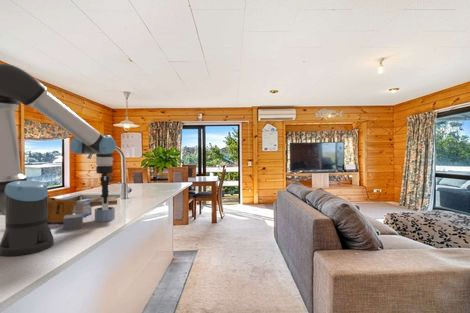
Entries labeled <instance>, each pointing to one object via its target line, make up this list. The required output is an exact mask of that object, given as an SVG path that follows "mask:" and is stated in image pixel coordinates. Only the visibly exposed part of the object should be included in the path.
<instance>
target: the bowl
mask: <svg viewBox="0 0 470 313" xmlns="http://www.w3.org/2000/svg"><path fill="white" fill-rule="evenodd" d="M115 211H116V209H115V207H113V206H108V210H102V206H101V207H97V208H95V209H94V222H110V221H113V220H115V219H116V218H115V217H116V216H115Z"/></svg>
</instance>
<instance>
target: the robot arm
mask: <svg viewBox="0 0 470 313" xmlns="http://www.w3.org/2000/svg"><path fill="white" fill-rule="evenodd" d="M20 103H21V104H22V105H24V106H26V107H31V108H33V109H35V110H36V111H38V112H39V113H40V114H41V115H43V116H45V117H47V119H49V120H51V121H52V122H53V123H55V124H56V125H57V126H59V127H61V128H62V129H63V130H65V131H66V132H67V133H69V134H70V135H71V136H73V137H74V138H72V139H71V141H70V142H69V146H70V148H69V149H70V151H71V152H72V153H73V154H75V155H76V154H77V155H95V161H96V162H95V164H96V169H95V170H96V174H99V175H101V176H99V177H100V178H99V179H100V185H101V195H100V198H102V206H101V207H102V210H108V207H109V205H108V198H109V185H110V182H109V181H110V176H109V175H108V174H113V173H114V171H113V170H114V169H113V168H114V167H113V163H114V162H113V161H115V159H114V158H113V157H114V156H113V153H114V152H115V150H116V148H117V142H116V141H115V139H114V138H113V137H112V135H109V134H108V135H107V134H105V135H104V134H102V133H101V132H99V131H98V130H97V129H96V128H94V127H93V126H91V125H90V124H89V123H88V122H87V121H86V120H84V119H83V118H82V117H80V116H79V115H78V114H76V112H74V111H73V110H71V109H70V108H69V107H68V106H66V105H65V104H64V103H63V102H61V101H60V100H59V99H57V98H56V97H55V96H53V95H52V94H51V93H50V92H48V89H47V86H45V84H44V83H42V82H40V81H39V80H38V79H37V78H35V77H34V76H32V75H31V74H30V73H28V72H26V71H25V70H24V69H22V68H20V67H17V66H15V65H13V64H8V63H0V215H4V216H5V217H4V218H5V223H4V224H5V230H4V232H3V234H2V237H1V240H0V256H3V257H4V256H5V257H16V256H23V255H24V256H25V255H30V254H34V253H39V252H43V251H45V250H47V249H49V248H51V247H52V246H54V244H55V243H54V240H55V238H54V235H53V233H52V231H51V228H50V226H49V222H48V197H49V191H48V185H47V184H46V183H45V182H43V181H38V180H28V178H27V176H26V175H25V174H23V173H22V169H21V160H20V151H19V143H18V142H19V141H18V133H17V132H18V131H17V123H16V114H15V112H16V110H17V109H18V108H19V107H20Z"/></svg>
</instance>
